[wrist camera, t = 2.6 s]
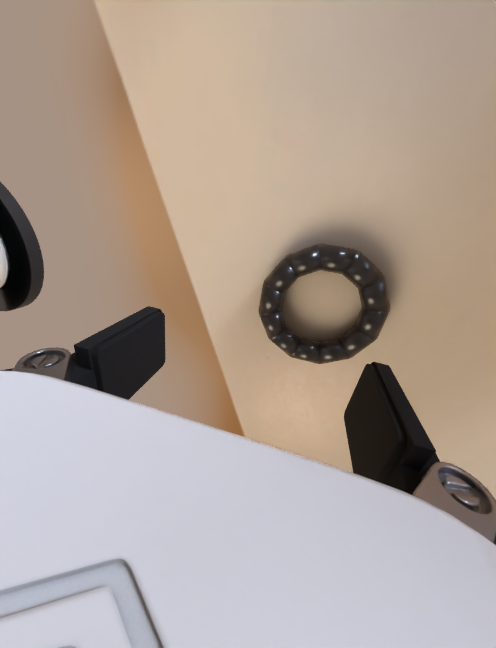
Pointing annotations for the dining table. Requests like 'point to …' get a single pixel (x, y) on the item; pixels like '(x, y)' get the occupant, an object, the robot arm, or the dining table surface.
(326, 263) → the ring
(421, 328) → the dining table surface
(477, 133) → the dining table surface
